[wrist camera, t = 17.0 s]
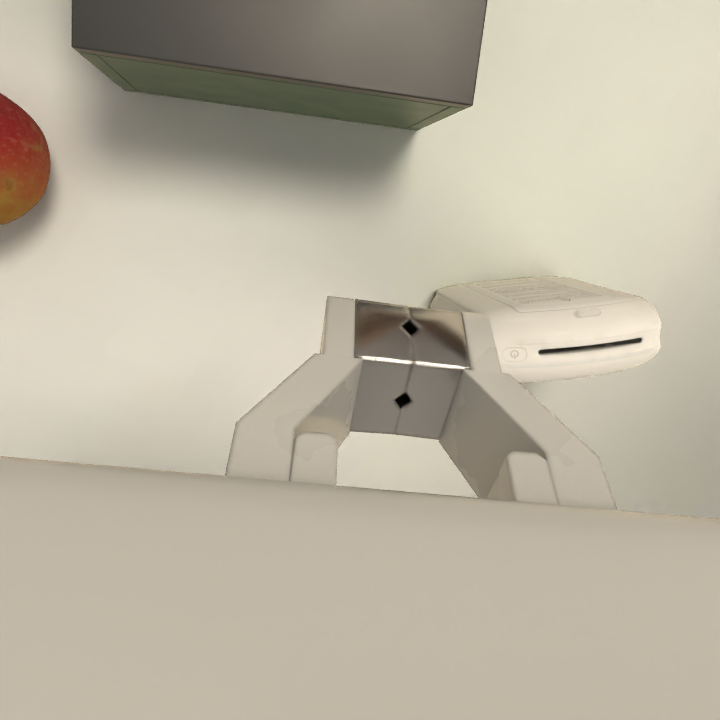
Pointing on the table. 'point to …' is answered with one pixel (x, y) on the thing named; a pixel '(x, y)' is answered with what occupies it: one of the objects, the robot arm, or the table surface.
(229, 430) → the table surface
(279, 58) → the bin lid
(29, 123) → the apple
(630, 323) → the photo printer
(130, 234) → the table surface
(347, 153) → the table surface
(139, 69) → the bin
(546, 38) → the table surface
